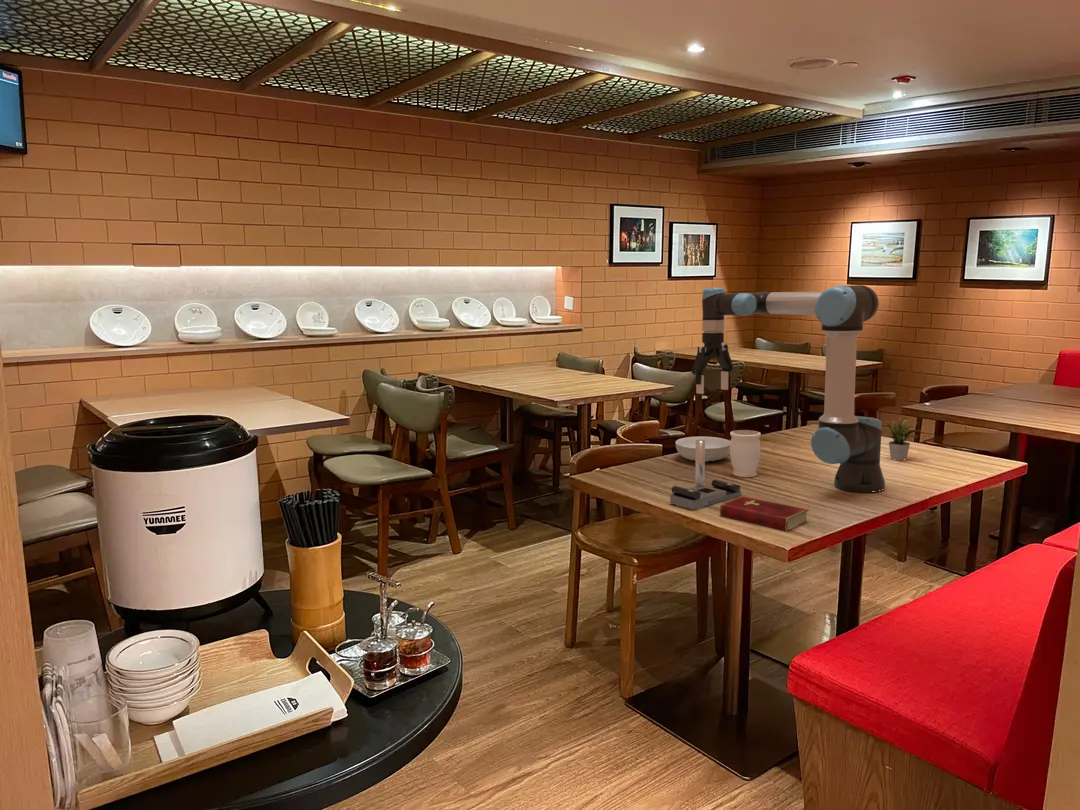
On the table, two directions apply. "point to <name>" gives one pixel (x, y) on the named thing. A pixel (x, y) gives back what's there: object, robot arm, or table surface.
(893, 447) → the house plant
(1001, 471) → the table surface
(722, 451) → the serving bowl
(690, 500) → the plate with two rollers
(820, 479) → the table surface
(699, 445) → the link pin
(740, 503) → the hardcover book
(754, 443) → the jar
